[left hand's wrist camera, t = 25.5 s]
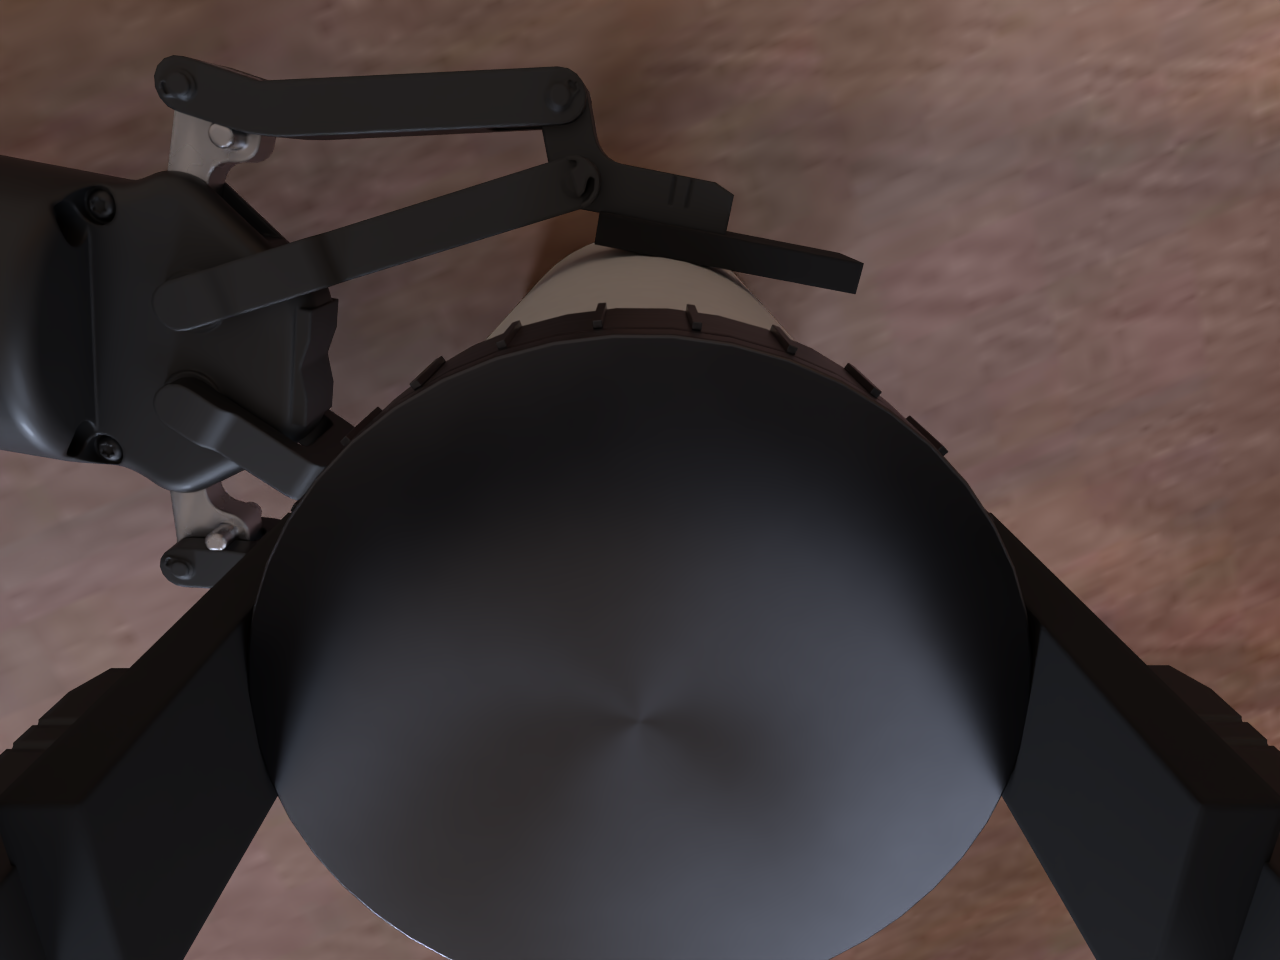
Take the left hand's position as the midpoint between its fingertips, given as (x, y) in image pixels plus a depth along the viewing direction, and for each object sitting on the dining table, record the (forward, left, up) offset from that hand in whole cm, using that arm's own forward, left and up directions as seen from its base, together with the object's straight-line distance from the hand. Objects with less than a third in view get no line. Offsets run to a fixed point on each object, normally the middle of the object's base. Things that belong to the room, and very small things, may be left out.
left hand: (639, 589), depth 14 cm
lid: (0, 0, +3) cm, 3 cm away
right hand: (-4, +1, -10) cm, 11 cm away
